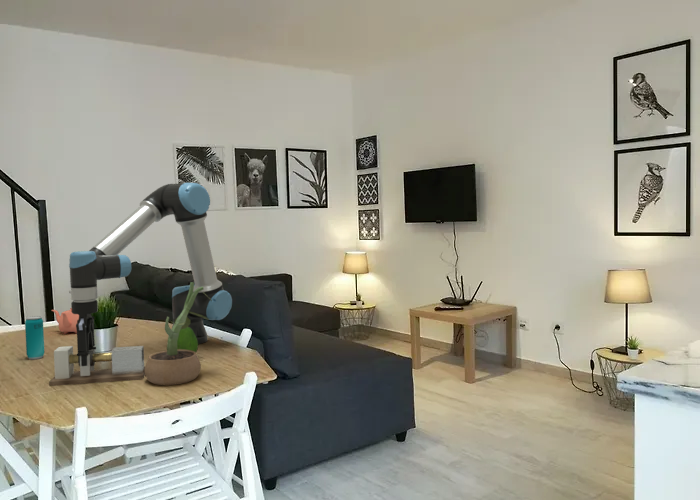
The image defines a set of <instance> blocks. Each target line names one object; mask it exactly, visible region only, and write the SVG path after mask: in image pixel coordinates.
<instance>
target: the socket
mask: <svg viewBox="0 0 700 500" xmlns="http://www.w3.org/2000/svg"><path fill="white" fill-rule="evenodd" d="M73 354H74V346H73V345H71V346H69V345H67V346H58V347H57V348H56V349H55V350H53V357H54V358H53V361H54V363H53V364H54V377H55V379H67V378H70V377H71V376H72V375H73V374H74V371H75V370H74V369H75V367H74V366H75V365H74V364H75V363H73V364H69V355H73Z"/></svg>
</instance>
